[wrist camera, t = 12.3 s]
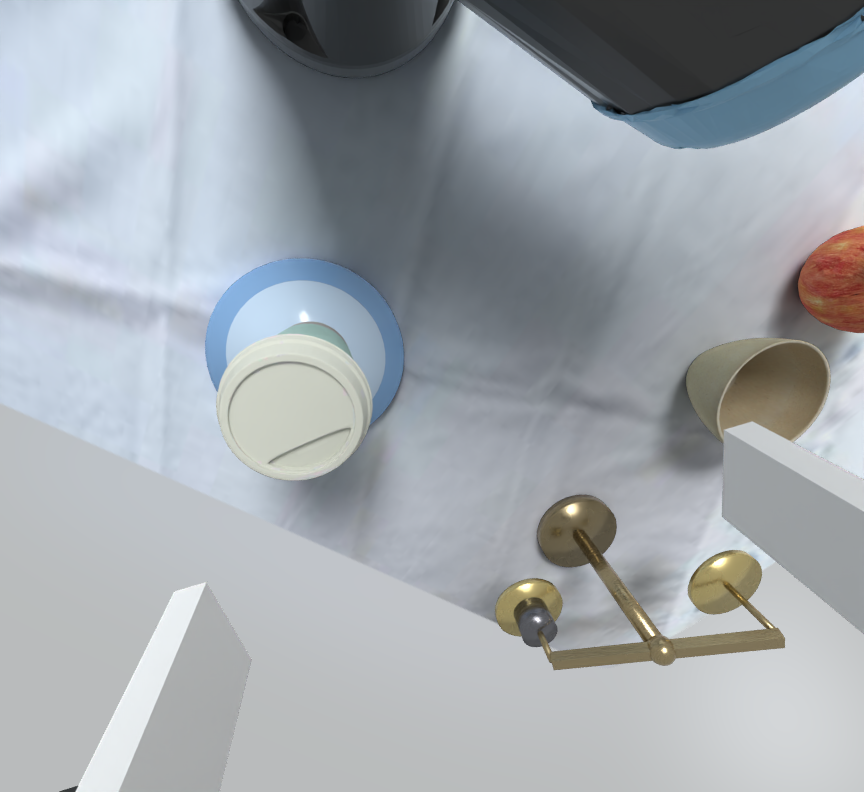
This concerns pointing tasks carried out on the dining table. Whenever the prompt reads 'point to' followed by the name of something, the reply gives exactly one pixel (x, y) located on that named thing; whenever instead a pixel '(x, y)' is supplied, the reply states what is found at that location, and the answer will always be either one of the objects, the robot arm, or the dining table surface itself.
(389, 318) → the dish
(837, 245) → the fruit
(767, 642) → the balance
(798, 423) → the flower pot
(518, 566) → the dining table surface
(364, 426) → the coffee cup
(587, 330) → the dining table surface
